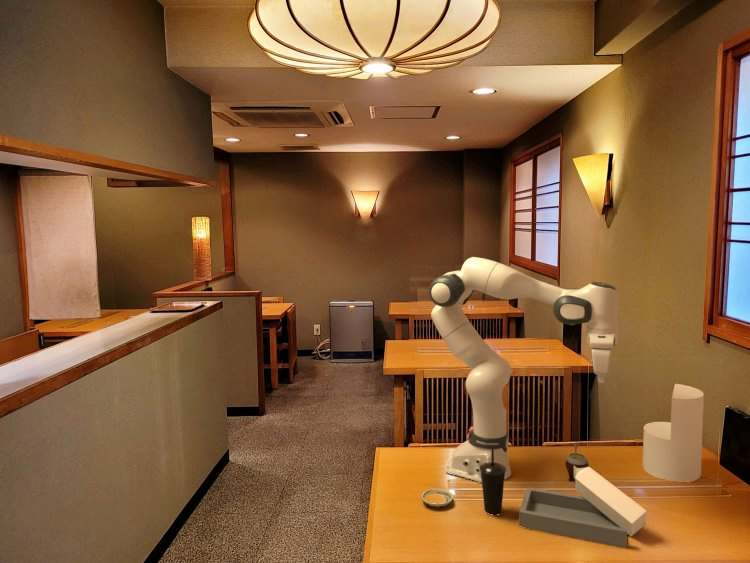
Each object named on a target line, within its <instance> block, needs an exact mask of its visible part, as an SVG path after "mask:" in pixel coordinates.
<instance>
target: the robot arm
mask: <svg viewBox="0 0 750 563" xmlns="http://www.w3.org/2000/svg"><path fill="white" fill-rule="evenodd" d="M475 291H479V292H481V293H484V294H485V295H488V296H491V297H494V298H498V299H503V300H515V299H521V298H523V299H524V298H525V299H533V300H537V301H540V302H542V303H546V304H549V305H552V307H553V308H552V312H553V315H554V316H555V318H556V320H558V322H559V323H562V324H564V325H568V326H574V325H579V324H580V325H581V324H585V328H586V329H585V331H586V333H585V335H586V336H585V342H586V343H587V344H588V345H589V348H590V349H591V356H592V367H593V373H594V374H595V375H597V383H599V384H604V383H605V381H606V380H605V379H606V377H605V376H607V375H608V374H609V372H610V363H611V356H612V352H613V350H614V348H615V347H616V345H618V343H619V324H618V316H619V312H620V311H619V307H620V306H619V305H620V304H619V295H618V291H617V289H616V287H614V285H612V284H610V283H605V282H598V281H597V282H596V281H592V282H590V283H589V284H587V285H585V286H583V287H580V288H578V287H576V288H575V287H573V288H565V287H561V286H558V285H555V284H551V283H548V282H545V281H542V280H539V279H536V278H534V277H531V276H529V275H527V274H525V273H523V272H520V271H519V270H517V269H515V268H513V267H510V266H508V265H505V264H503V263H501V262H497V261H495V260H491V259H488V258H482V257H476V256H471V257H469V258H467V259H466V260H465V261H464V263H463V264H462V266H461V269H459V270H458V269H457V270H453V271H449V272H446V273H445V274H443V275H440V276H438V277H436V278H435V279H433V281H432V282H431V283H430V285H429V288H428V294H429V298H430V300H431V301H432V302H433V304H434V305H435V306H434V307H433V308H432V310H431V313H430V316H431V319H432V322H433V324H434V326H435V328H436V330H437V332H438V334H439V335H440V336H441V338H442V340H443V341H444V342H445V344H446V346H447V347H448V348H449V350H450V351H451V353H452V354H453V355H454V357H455V358H456V359H458V360H459V361H462V362H463V363H464V364H465V365H466V366H467V367H469V369H470V370H471V371H470V372H469V373H468V376H467V377H466V380H465V389H466V392H467V393H468V395H469V396H470V400H471V406H472V413H473V414H472V415H473V416H472V419H473V426H470V428H469V429H468V432H467V436H466V438H467V440H466V441H464V442H462V443H461V444H459V445H458V446H457V447H456V448H455V449H454V451H453V452H452V457H451V458H449V460H448V461H447V462H446V464H445V465H444V470H445V469H446V471H447V472H449V473H452V474H455V475H458V476H461V477H465V478H468V479H471V480H470V481H472V480H475V481H474V482H476V481H478V482H477V483H480V482H482V479H481V471H480V465H481V464H483V463H488V462H492V459H491V447H494V462H495V463H499V464H502V465H503V466H505V468H506V472H505V477H504V480H507V479H508V478H510V476H511V475H512V470H511V466H510V462H509V457H508V456H509V455H508V449H509V435H508V431H507V410H506V408H505V406H504V402H503V396H502V395H503V394H502V393H503V389H504V387H505V386H506V385H507V384H508V383H509V381H510V378H511V375H512V367H511V364H510V363H509V361H507V360H506V359H505V358H503V357H502V356H500V355H499V354H498V353H497V352H496V351H494V349H493V348H492V347H490V346H489V345H488V343H487V342H486V341H485V340H484V339H483V338H482V337H481V335H480V334H479V332H478V331H477V330H476V329H475V327H474V325H473V324H472V323H471V321H470V320H469V318H468V317H467V316H466V315H465V312H464V311H463V308H462V307H463V305H466V304H467V302H468V301H469V299H470V298H471V296H472V295H473V294H474V292H475ZM446 471H445V472H446ZM461 477H460V478H461ZM465 478H464V479H465ZM468 479H467V480H468Z"/></svg>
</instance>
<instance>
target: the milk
mask: <svg viewBox="0 0 750 563" xmlns="http://www.w3.org/2000/svg"><path fill="white" fill-rule="evenodd" d="M574 479H575V492H577V493H578V494H579V495H581V496H582V497H584V498H585V499H587V500H588V501H589V502H590V503H591V504H593V505H594V506H595V507H596V508H597V509H599V510H600V511H601V512H602V513H603V514H605V515H606V516H607V517H608V518H610V519H611V520H612V521H613V522H614V523H616V524H617V525H618V526H619V527H620V528H625V529H627V535H629V536H630V537H632V536H634V535H635V534H636V533H637V532H638V531H640V530H641V528H643V527H644V526H645V525H646V524H647V513H648V512H647V510H646V509H645V508H644V507H642V506H641V505H640V504H638V503H637V502H636V501H634V500H633V499H632V498H630V497H629V496H628V495H627V494H625V493H624V492H623V491H621V490H620V489H619V488H618V487H617V486H615V485H614V484H613V483H611V482H610V481H608V480H607V479H606V478H604V477H603V476H602V475H600V473H598V472H597V471H595V470H594V469H593V468H591V467H590V466H588V467H585V468H576V467H575V466H574Z"/></svg>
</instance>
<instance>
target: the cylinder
mask: <svg viewBox="0 0 750 563" xmlns="http://www.w3.org/2000/svg"><path fill="white" fill-rule="evenodd" d="M672 391H673V392H672V395H671V405H670V406H671V408H670V409H671V410H670V421H652V422H649V423H646V424H645V425H644V426H643V440H642V441H643V446H642V468H643V470H644V471H645V472H646V473H647V474H649V475H651V476H653V477H654V476H655V477H654V478H657V477H658V478H657V479H660V478H661V479H660V480H663V479H665V480H664V481H667V480H671V481H670V482H672V481H693V480H697V479H698V478H701V477H700V476H702V457H703V456H702V454H703V452H702V450H703V449H702V448H703V430H704V429H703V425H704V424H703V423H704V422H703V421H704V401H705V400H704V399H705V398H704V396H705V394H704V392H703V391H702V390H700V389H699V388H696V387H693V386H689V385H685V384H679V383H675V384H674V387H673V390H672ZM698 480H699V479H698ZM698 480H697V481H698Z"/></svg>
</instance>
